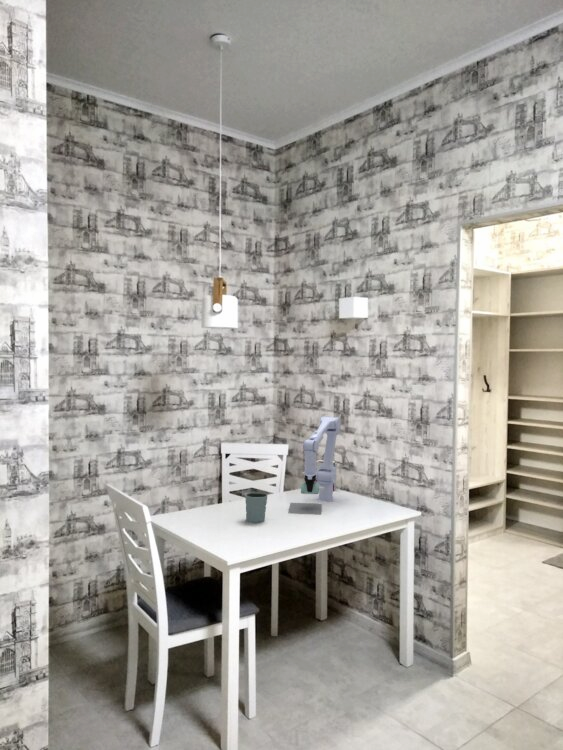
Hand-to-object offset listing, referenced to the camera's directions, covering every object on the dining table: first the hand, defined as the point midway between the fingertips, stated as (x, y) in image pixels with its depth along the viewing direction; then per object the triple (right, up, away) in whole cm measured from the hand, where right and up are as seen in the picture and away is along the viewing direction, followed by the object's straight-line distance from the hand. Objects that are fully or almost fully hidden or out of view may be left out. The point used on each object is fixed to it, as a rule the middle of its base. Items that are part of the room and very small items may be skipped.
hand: (309, 490), depth 288 cm
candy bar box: (+11, -8, +42) cm, 44 cm away
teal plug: (+1, -1, 0) cm, 2 cm away
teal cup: (-26, -9, -22) cm, 35 cm away
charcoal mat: (-2, -9, -1) cm, 9 cm away
